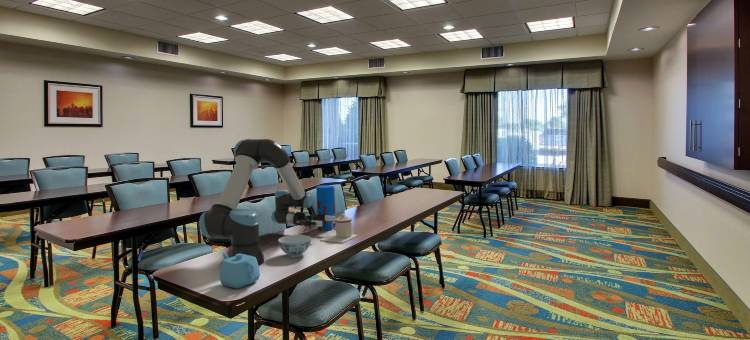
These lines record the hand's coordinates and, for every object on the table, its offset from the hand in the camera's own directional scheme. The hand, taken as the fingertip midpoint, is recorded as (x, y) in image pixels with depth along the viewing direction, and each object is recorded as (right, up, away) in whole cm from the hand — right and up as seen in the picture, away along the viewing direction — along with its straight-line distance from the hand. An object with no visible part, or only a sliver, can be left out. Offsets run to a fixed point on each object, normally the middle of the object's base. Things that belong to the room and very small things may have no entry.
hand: (328, 221), depth 223 cm
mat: (+6, -9, -2) cm, 11 cm away
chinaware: (-12, -12, -31) cm, 35 cm away
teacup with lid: (+7, -8, +2) cm, 11 cm away
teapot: (-27, -16, -66) cm, 73 cm away
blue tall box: (-4, -7, +22) cm, 24 cm away
